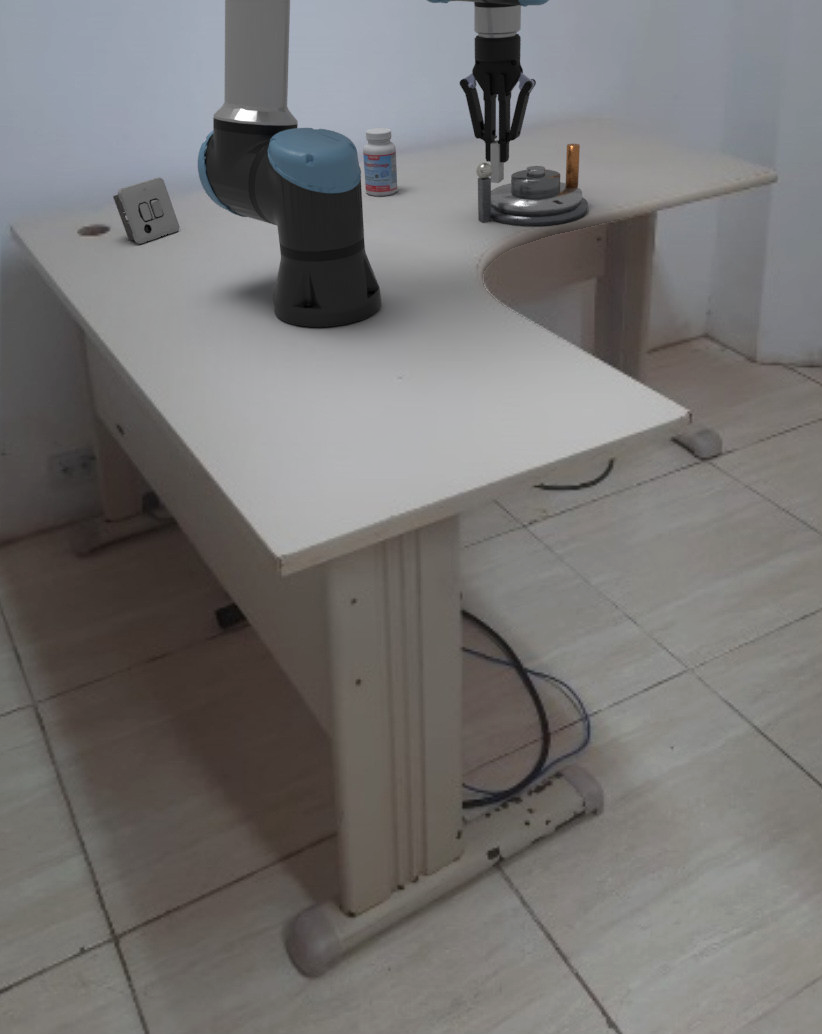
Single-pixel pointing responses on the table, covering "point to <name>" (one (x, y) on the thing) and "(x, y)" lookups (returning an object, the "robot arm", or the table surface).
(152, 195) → the electrical switch
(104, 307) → the table surface
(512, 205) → the platter
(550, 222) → the turntable base
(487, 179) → the post
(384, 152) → the pill bottle
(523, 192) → the cover
